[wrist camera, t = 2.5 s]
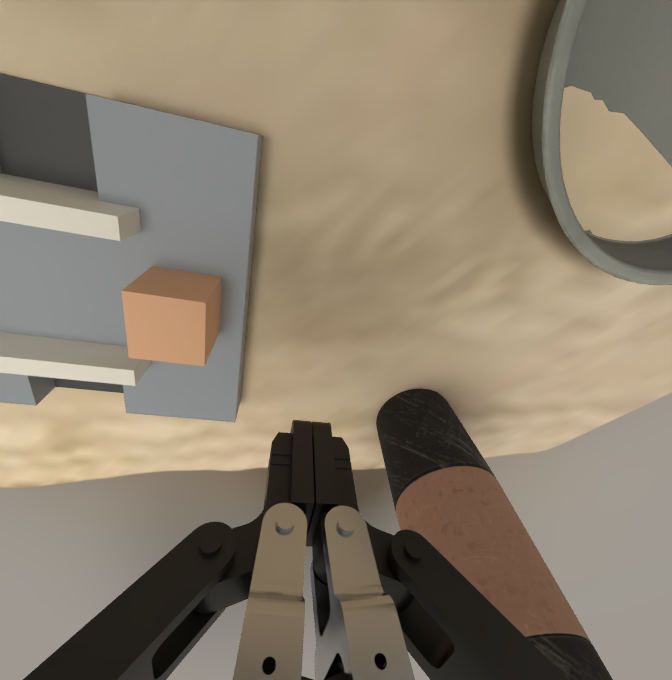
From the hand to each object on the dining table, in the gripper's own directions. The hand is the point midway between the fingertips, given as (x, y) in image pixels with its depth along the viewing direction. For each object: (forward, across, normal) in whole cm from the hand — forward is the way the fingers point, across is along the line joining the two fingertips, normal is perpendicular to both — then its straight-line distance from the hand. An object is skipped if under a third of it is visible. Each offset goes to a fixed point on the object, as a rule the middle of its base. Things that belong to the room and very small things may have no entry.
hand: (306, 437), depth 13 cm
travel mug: (+14, -12, +10) cm, 21 cm away
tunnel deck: (+13, +15, 0) cm, 20 cm away
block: (+11, +8, 0) cm, 13 cm away
